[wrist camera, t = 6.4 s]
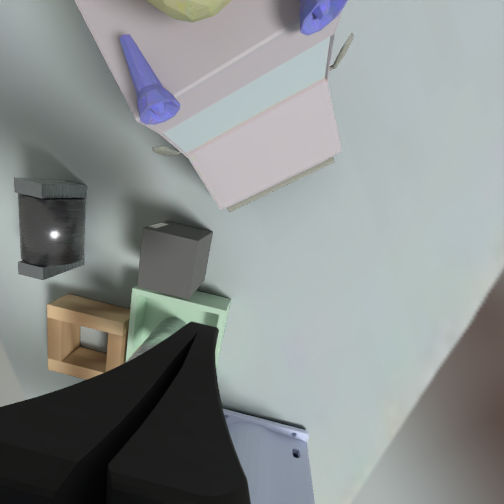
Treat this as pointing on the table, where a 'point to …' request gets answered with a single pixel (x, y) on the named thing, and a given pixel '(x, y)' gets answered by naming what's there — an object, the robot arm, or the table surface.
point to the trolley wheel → (50, 226)
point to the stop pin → (159, 334)
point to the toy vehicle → (228, 84)
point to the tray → (173, 314)
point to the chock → (173, 258)
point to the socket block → (68, 336)
